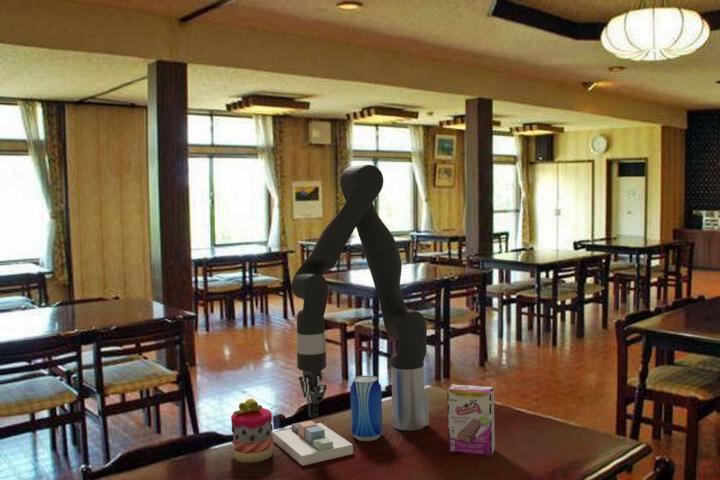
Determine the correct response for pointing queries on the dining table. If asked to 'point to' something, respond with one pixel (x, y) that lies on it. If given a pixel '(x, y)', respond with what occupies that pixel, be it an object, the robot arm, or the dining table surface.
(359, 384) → the beer can
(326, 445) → the sage key
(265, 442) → the cake
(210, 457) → the dining table surface
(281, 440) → the keypad frame
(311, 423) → the terracotta key
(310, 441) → the slate-blue key
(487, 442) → the candy bar box
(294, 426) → the charcoal key
